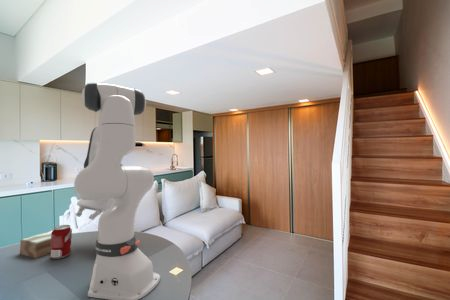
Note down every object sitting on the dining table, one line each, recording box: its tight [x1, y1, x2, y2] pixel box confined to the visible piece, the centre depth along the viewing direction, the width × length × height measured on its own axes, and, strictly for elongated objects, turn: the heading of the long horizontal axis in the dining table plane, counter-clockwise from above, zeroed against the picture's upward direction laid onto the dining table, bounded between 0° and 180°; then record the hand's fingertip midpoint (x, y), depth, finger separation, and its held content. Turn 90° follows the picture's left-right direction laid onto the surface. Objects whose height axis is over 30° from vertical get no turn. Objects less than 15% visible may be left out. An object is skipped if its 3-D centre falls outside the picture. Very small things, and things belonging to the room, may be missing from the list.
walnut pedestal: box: [19, 231, 52, 259], centre depth 92 cm, size 10×10×6 cm
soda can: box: [49, 224, 73, 260], centre depth 88 cm, size 7×7×12 cm
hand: (83, 217), depth 96 cm, fingers open, 8 cm apart
